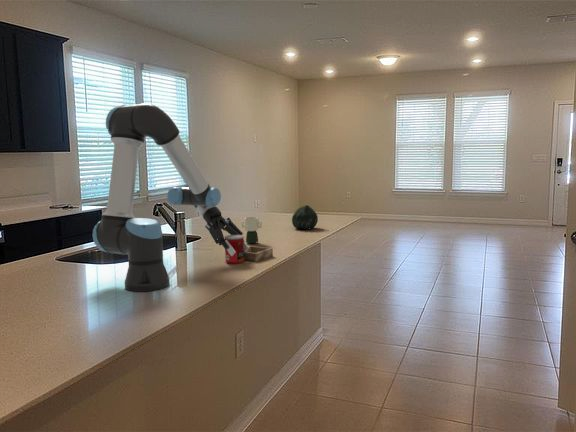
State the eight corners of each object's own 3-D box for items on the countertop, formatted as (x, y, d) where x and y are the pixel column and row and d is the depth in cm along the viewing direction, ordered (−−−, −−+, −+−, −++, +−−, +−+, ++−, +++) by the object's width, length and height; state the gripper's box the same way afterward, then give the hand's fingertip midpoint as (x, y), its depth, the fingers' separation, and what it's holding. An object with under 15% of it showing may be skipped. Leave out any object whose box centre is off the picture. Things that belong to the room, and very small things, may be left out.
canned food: (241, 264, 204) (240, 238, 203) (223, 263, 206) (222, 237, 204) (246, 260, 212) (245, 234, 210) (228, 259, 213) (227, 234, 212)
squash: (294, 217, 302) (292, 200, 291) (318, 218, 300) (318, 201, 289) (291, 235, 293) (289, 219, 282) (317, 236, 291) (316, 220, 280)
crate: (255, 261, 208) (255, 253, 208) (233, 258, 215) (233, 250, 215) (272, 256, 218) (272, 248, 218) (251, 253, 225) (251, 245, 225)
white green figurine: (264, 242, 252) (264, 217, 250) (259, 245, 245) (259, 219, 243) (244, 241, 255) (244, 216, 253) (239, 244, 248) (238, 218, 246)
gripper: (196, 209, 203) (228, 251, 196) (229, 202, 219) (260, 241, 213) (187, 221, 206) (219, 263, 200) (221, 214, 223) (251, 252, 217)
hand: (240, 251), depth 206 cm, fingers open, 8 cm apart
